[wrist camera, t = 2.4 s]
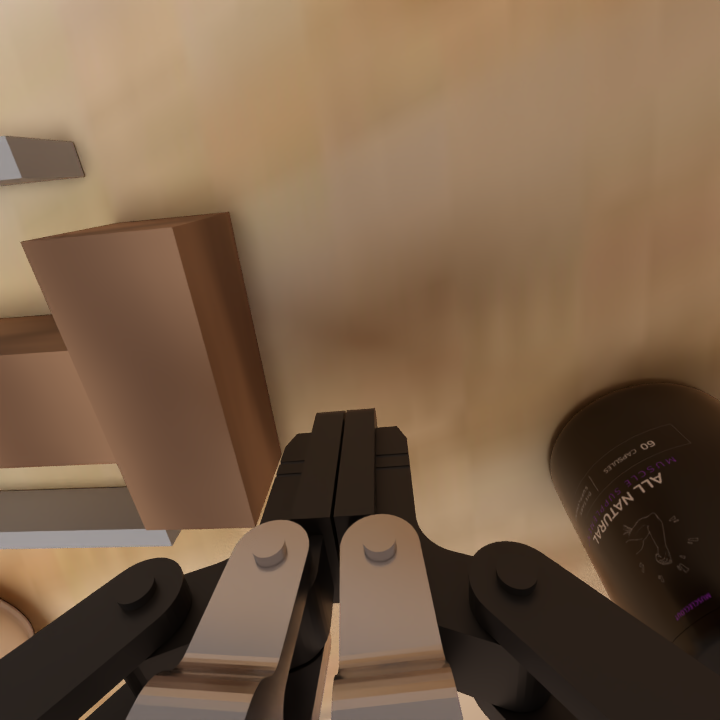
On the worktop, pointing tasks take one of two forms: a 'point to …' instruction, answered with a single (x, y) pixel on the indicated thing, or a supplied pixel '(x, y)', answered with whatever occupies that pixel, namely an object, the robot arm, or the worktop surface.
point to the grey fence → (64, 506)
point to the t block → (144, 370)
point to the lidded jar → (12, 628)
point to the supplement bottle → (650, 506)
